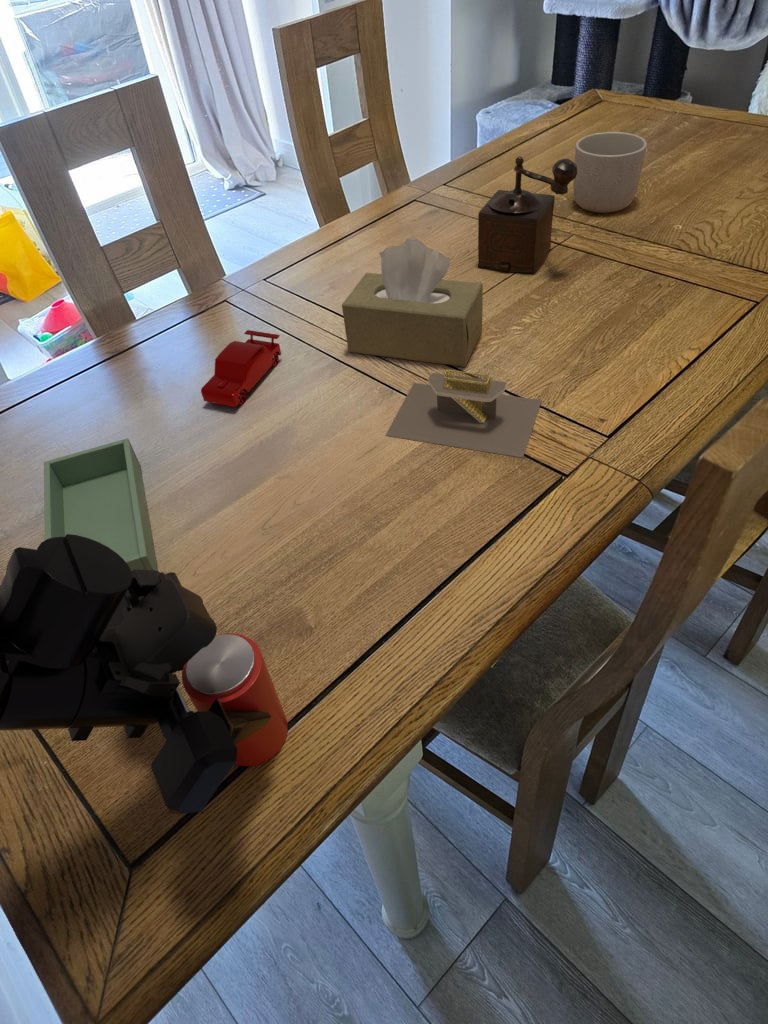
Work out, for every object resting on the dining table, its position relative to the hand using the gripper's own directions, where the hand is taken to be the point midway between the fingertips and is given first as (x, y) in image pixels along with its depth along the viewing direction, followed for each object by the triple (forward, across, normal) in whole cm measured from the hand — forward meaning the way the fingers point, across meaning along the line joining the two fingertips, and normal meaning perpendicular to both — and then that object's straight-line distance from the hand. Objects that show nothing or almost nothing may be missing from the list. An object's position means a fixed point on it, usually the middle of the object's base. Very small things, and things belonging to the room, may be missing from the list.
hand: (250, 686), depth 58 cm
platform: (+33, +25, -24) cm, 48 cm away
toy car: (+19, +52, -10) cm, 56 cm away
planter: (+76, +62, -66) cm, 118 cm away
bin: (+1, +34, +9) cm, 35 cm away
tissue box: (+37, +44, -27) cm, 64 cm away
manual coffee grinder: (+58, +54, -48) cm, 92 cm away
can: (+4, 0, +6) cm, 7 cm away
